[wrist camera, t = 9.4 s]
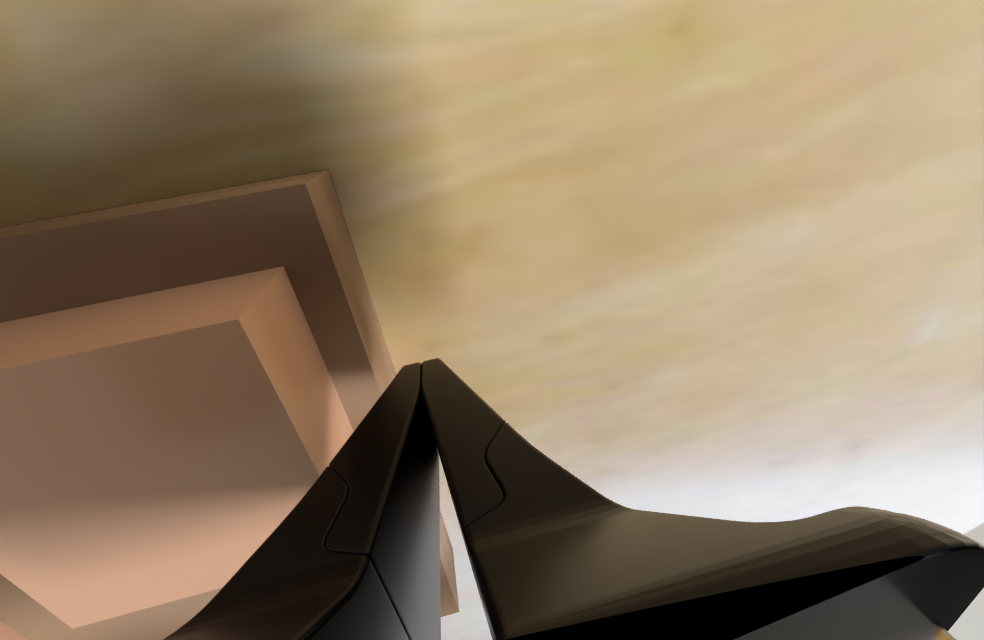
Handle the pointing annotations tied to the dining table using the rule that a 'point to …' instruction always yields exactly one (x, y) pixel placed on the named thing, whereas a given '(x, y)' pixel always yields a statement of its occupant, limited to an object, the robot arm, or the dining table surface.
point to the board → (190, 260)
